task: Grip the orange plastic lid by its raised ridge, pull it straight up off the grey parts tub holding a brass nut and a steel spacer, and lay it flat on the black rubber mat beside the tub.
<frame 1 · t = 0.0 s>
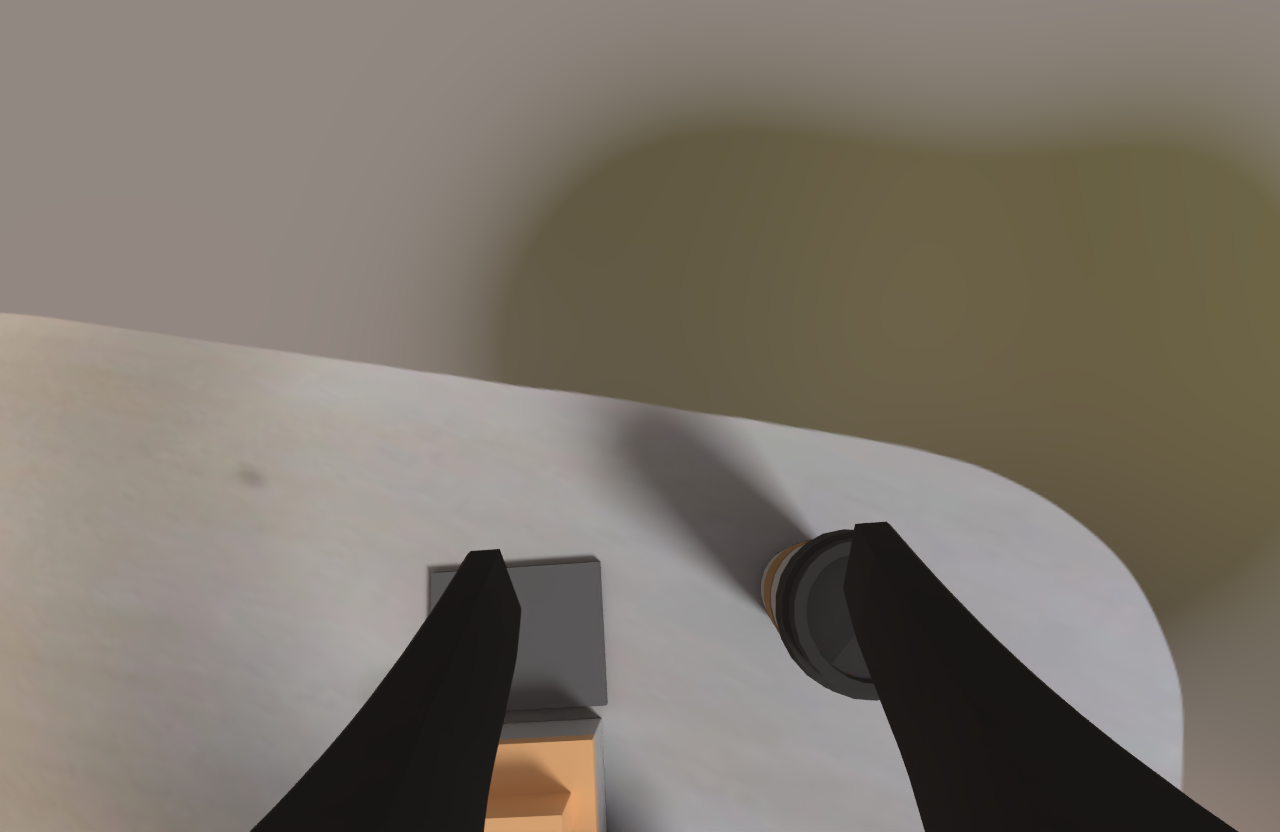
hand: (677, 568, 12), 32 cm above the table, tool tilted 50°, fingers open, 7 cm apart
lid: (517, 800, 38), point 3 cm above the table, touching parts tub
mat: (518, 635, 43), on the table
parts tub: (527, 783, 40), on the table
coffee cup: (802, 589, 42), on the table
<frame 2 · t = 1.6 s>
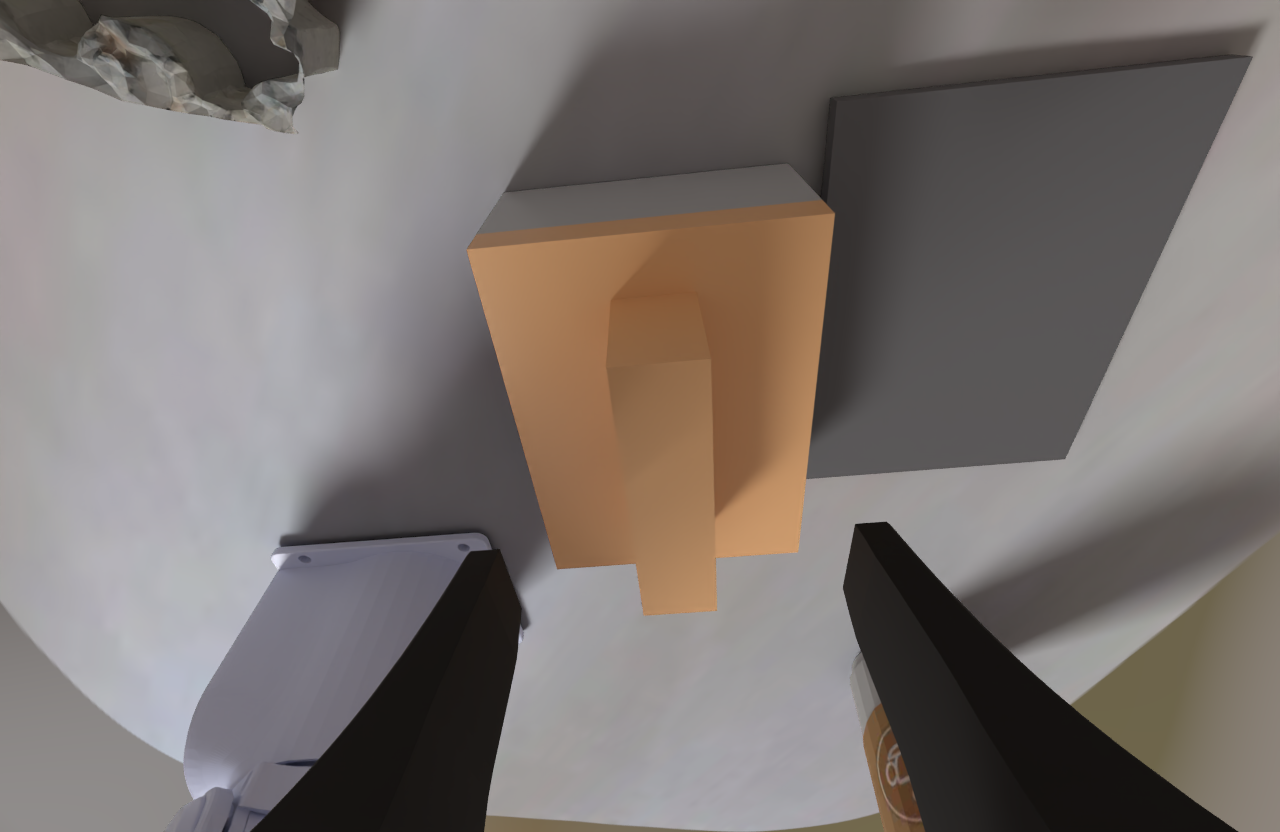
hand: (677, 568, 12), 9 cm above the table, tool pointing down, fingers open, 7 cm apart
lid: (662, 393, 17), point 3 cm above the table, touching parts tub
mat: (965, 308, 18), on the table
parts tub: (658, 348, 19), on the table
coffee cup: (904, 658, 31), on the table
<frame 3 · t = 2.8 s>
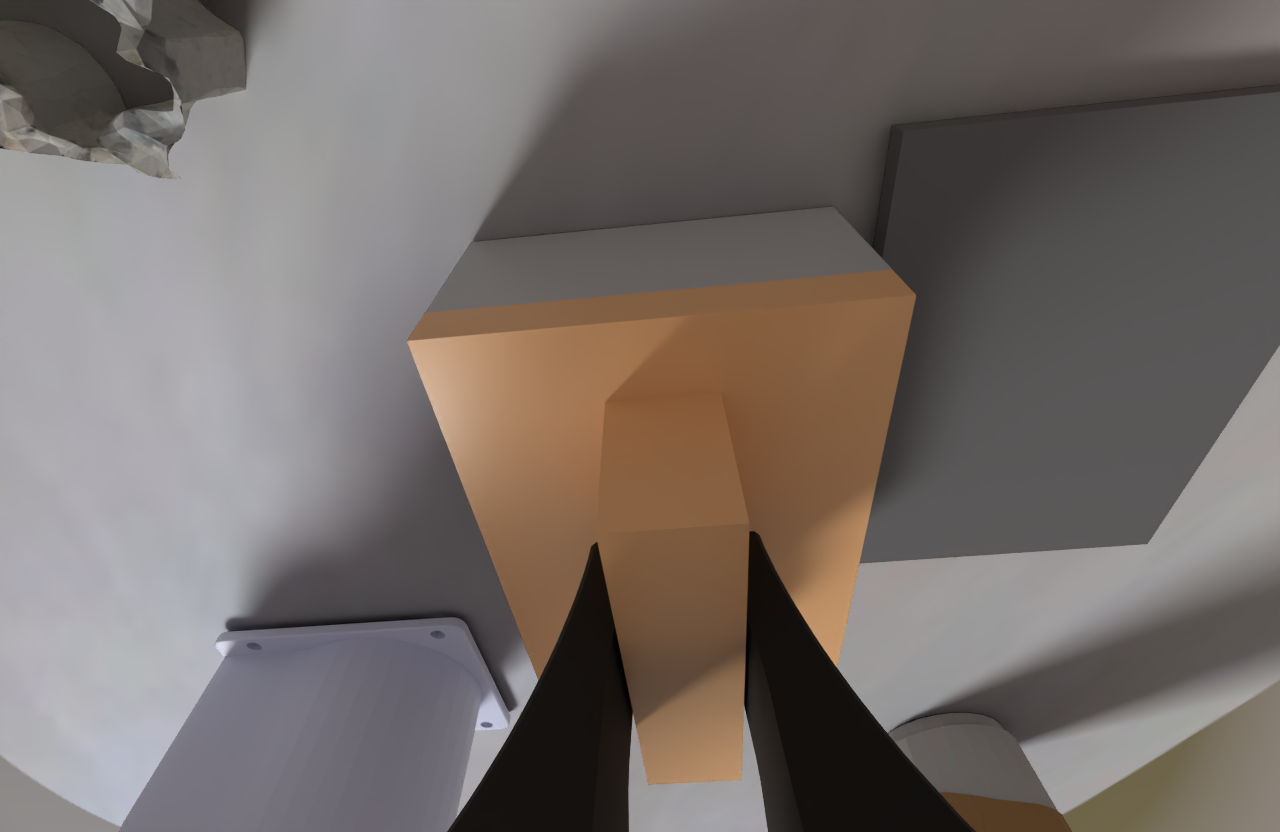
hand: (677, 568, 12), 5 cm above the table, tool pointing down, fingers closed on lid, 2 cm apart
lid: (671, 490, 14), point 3 cm above the table, touching gripper, parts tub
mat: (1042, 376, 15), on the table
parts tub: (666, 422, 16), on the table
coffee cup: (937, 737, 28), on the table
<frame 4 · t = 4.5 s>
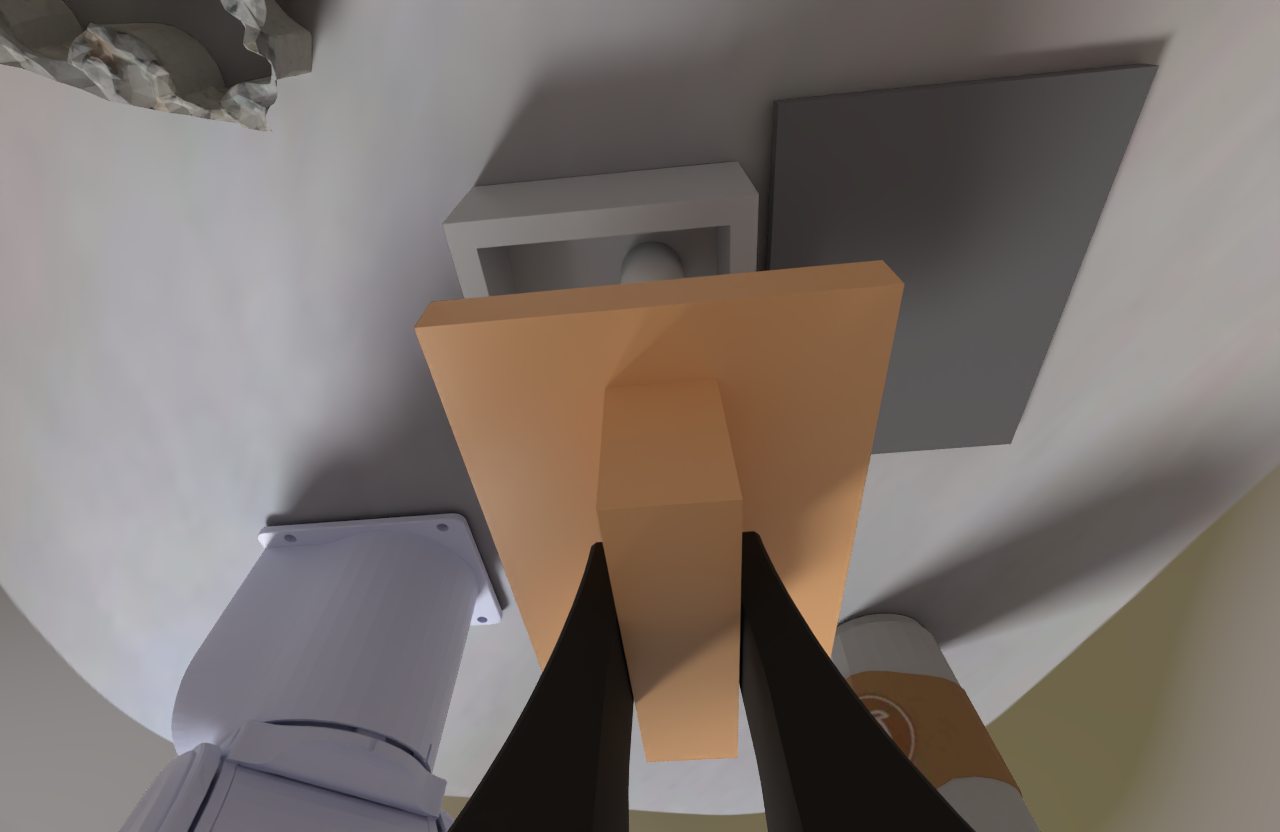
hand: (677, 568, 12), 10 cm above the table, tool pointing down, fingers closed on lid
lid: (669, 477, 14), point 8 cm above the table, touching gripper
mat: (909, 298, 20), on the table
parts tub: (623, 335, 20), on the table
coffee cup: (870, 640, 32), on the table
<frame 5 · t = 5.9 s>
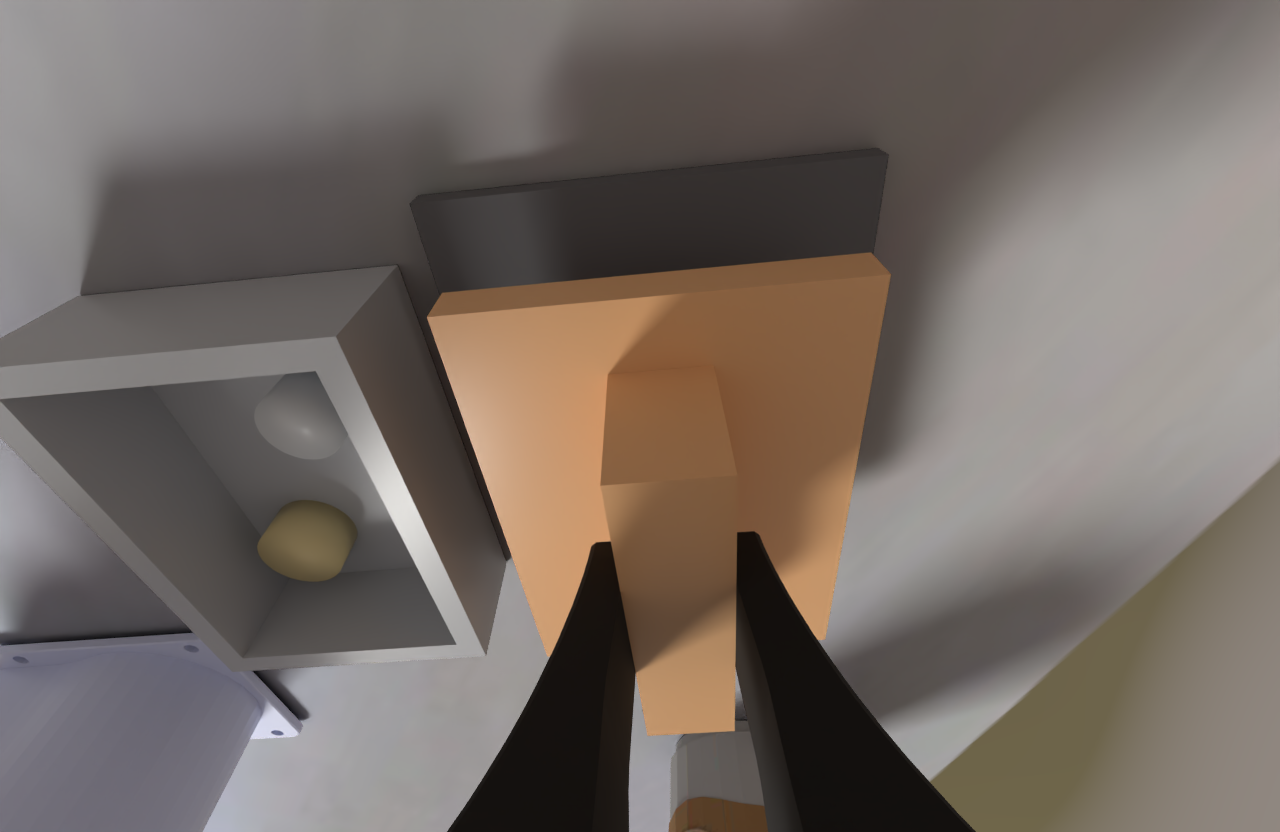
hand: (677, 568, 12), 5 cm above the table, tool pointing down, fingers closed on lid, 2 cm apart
lid: (669, 464, 14), point 2 cm above the table, touching gripper
mat: (664, 412, 16), on the table
parts tub: (331, 453, 17), on the table
coffee cup: (731, 743, 29), on the table
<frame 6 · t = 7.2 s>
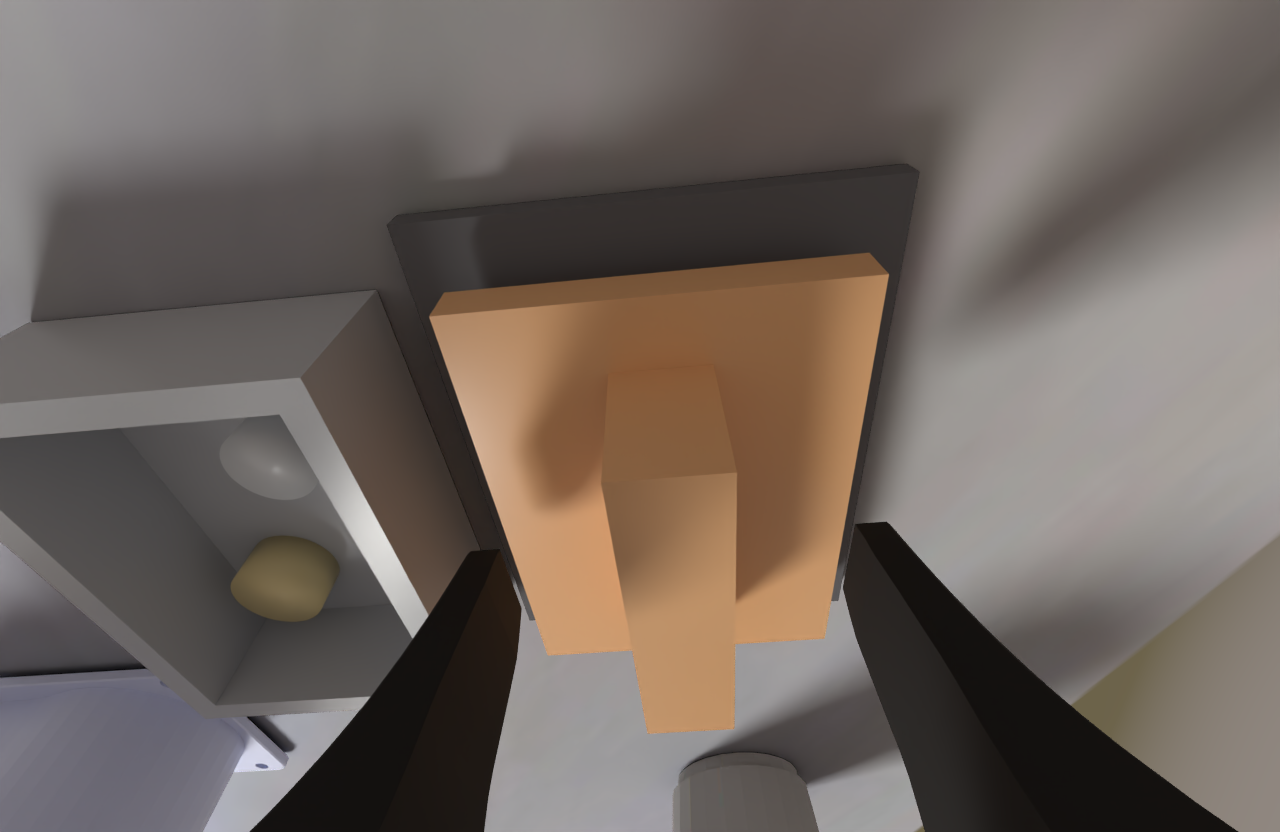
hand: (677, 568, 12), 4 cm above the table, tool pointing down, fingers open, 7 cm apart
lid: (669, 463, 15), point 1 cm above the table, touching mat
mat: (668, 445, 15), on the table
parts tub: (310, 487, 16), on the table
coffee cup: (736, 774, 28), on the table
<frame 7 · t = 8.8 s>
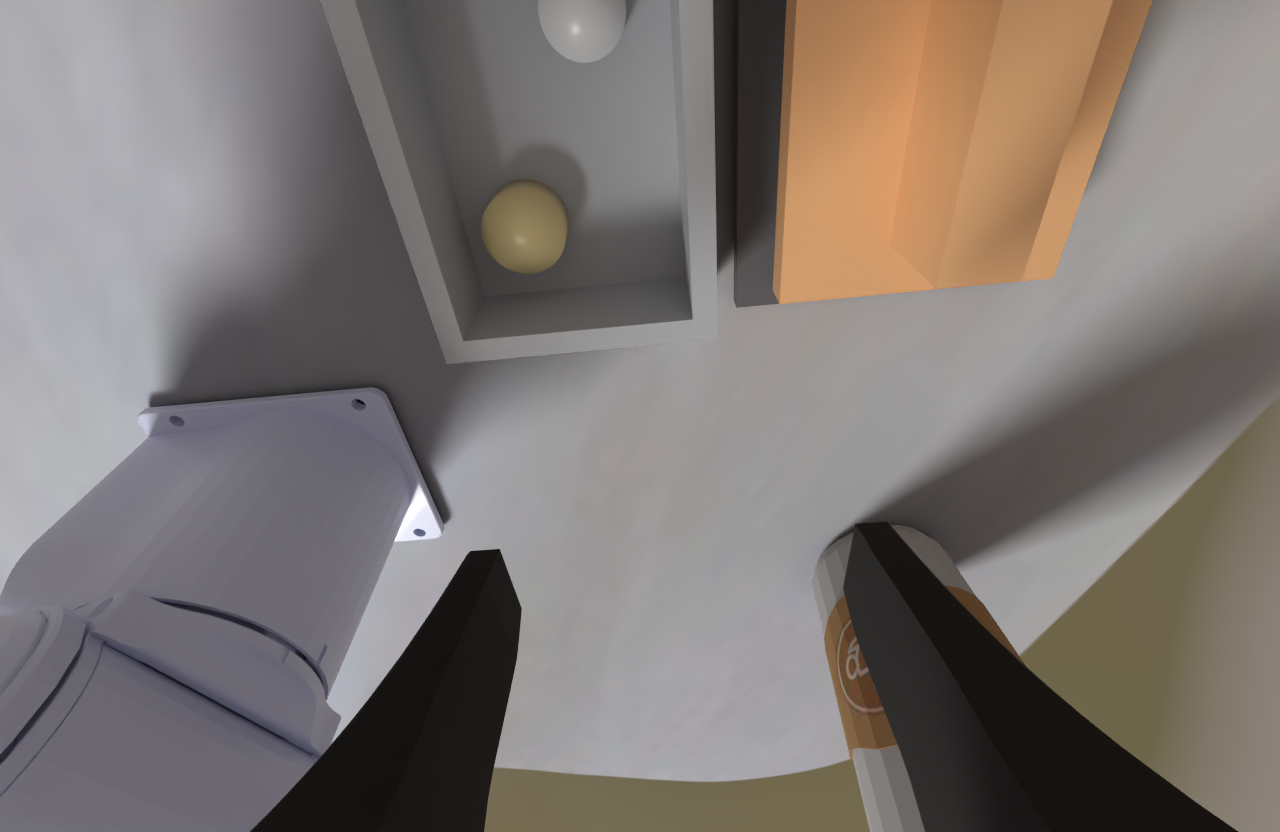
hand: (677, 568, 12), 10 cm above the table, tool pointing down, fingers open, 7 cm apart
lid: (927, 69, 15), point 1 cm above the table, touching mat
mat: (919, 62, 15), on the table
parts tub: (558, 122, 16), on the table
coffee cup: (872, 561, 28), on the table
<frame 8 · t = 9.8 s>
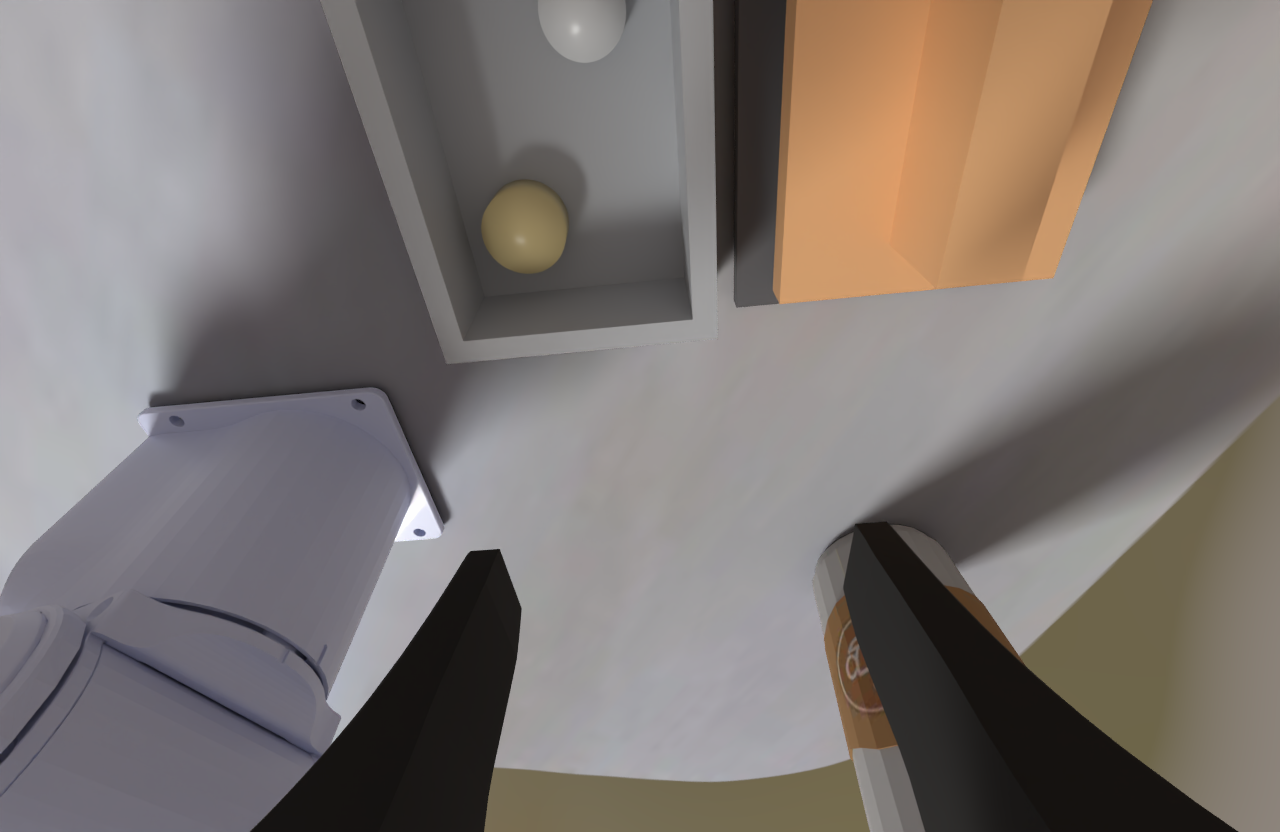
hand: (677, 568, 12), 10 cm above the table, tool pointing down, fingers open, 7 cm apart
lid: (927, 69, 15), point 1 cm above the table, touching mat
mat: (919, 62, 15), on the table
parts tub: (558, 122, 16), on the table
coffee cup: (872, 561, 28), on the table
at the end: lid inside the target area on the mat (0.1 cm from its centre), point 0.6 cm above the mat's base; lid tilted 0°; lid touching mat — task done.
